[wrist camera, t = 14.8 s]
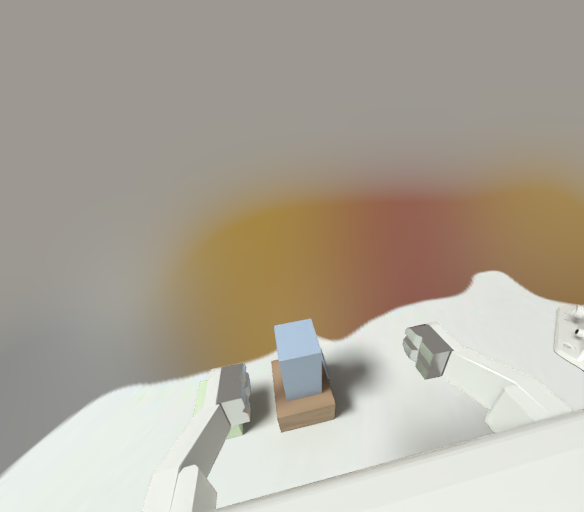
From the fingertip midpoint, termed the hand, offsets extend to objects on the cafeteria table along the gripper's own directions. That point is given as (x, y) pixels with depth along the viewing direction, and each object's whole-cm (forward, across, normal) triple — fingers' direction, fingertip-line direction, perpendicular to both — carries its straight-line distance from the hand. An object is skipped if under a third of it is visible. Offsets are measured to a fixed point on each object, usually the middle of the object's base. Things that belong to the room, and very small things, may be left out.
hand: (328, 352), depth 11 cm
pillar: (+13, +1, +22) cm, 25 cm away
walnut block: (+13, +1, +27) cm, 30 cm away
